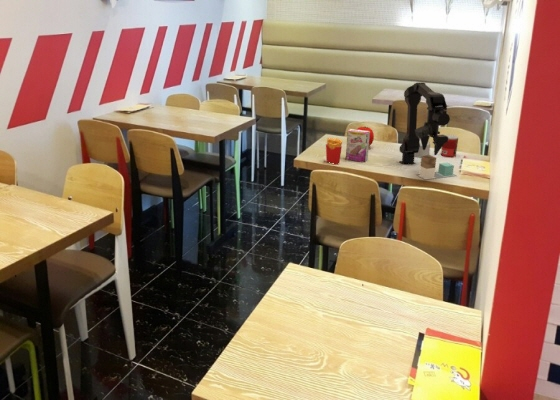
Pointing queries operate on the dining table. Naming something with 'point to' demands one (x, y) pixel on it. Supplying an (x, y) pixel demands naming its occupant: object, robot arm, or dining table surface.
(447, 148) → the canned food
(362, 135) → the candy bar box
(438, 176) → the slate board
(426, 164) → the walnut block
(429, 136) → the robot arm
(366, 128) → the tomato
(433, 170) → the block
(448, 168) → the teal block
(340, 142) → the french fries
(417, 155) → the lumpy-topped squat cylinder
